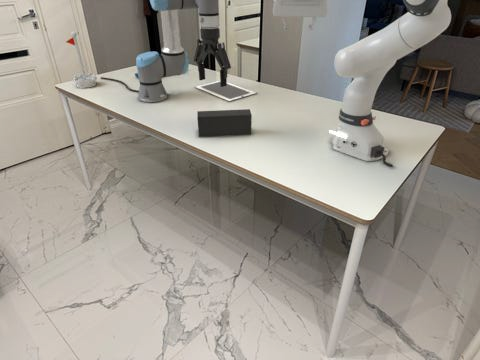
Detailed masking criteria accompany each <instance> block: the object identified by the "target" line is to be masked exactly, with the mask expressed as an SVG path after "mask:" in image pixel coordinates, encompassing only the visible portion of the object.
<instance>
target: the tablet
mask: <svg viewBox="0 0 480 360" xmlns="http://www.w3.org/2000/svg"><path fill="white" fill-rule="evenodd" d="M194 88H195V89H198V90H201V91H203V92H205V93H207V94H209V95H212V96H214V97H216V98H219V99H221V100H224V101H226V102H233V101H236V100H240V99H244V98H247V97H249V96H253V95H256V94H257V93H258V92H256V91H253V90H250V89H247V88H244V87H243V86H239V85H237V84H234V83H231V82H229V81H227V86H224V87H221V84H220V80H216V81H213V82H208V83H204V84H201V85H196V86H194Z"/></svg>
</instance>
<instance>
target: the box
mask: <svg viewBox="0 0 480 360" xmlns="http://www.w3.org/2000/svg"><path fill="white" fill-rule="evenodd" d="M196 114H197V115H196V116H197V117H196V118H197V129H198V138H209V137H229V136H250V135H251V136H252V123H253V122H252V120H253V119H252V118H253V115H252V112H251V109H250V108H247V109H246V108H245V109H219V110H199V111H198V110H197V113H196Z"/></svg>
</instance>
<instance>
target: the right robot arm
mask: <svg viewBox="0 0 480 360" xmlns="http://www.w3.org/2000/svg"><path fill="white" fill-rule="evenodd" d="M402 1H403V4H404V5H405V7H406V10H407V12H406V13H404V14H403V15H402V16H400V17H398V18H397V19H395V20H394V21H393V22H391V23H389V24H388V25H387V26H385V27H384V28H382V29H380V30H378V31H376V32H374V33H372V34H370V35H367V36H366V37H364V38H362V39H360V40H359V41H357V42H355V43H352V44H351V45H349V46H346V47H343V48H341V49H340V50H338V52H336V54H335V56H334V58H333V59H334V60H333V68H334V71H335V73H336V74H337V75H338V76H339V77H340V78H347V79H353V80H352V81H351V82H350V84H348V85H347V86H346V88H345V89H344V91H343V98H342V103H341V108H340V109H339V113H338V122H337V123H338V124H337V127H336V130H335V131H334V130H331V129H329V131H328V132H329V133H330V134H333V137H332V139H331V144H332V149H333V150H334V151H336V152H340V153H343V154H344V155H345V154H346V155H348V156H351V157H354V158H356V159H359V160H361V161H365V162H374V161H379V160H381V159H382V163H383V164H384V165H385V166H388V167H391V168H392V167H394V165H393V163H390V162H387V161H386V160H387V155H388V154H389V152H390V150H389V148H387V147H386V146H385V138H384V135H383V134H382V133H381V131H379V128H377V126H376V125H375V124H374V121H375V120H376V119H377V116H373V113H372V109H373V104H374V101H375V96H376V94H377V91H378V89H379V87H380V85H381V83H382V81H383V80H384V78H385V76H386V75H387V73H388V72H389V71H390V70H391V69H392V68H393V67H394V66H395V64H396V63H397V60H400V59H403V58H404V57H406V56H408V55H409V54H411V53H413V52H415V51H417V50H419V49H420V48H422V47H424V46H426V45H427V44H428V43H430V42H431V41H433V40H434V39H436V38H437V37H438V36H440V35H441V34H442V33H443V32H445V31H446V30H447V29H448V27H449V26H450V24H451V22H452V12H451V9H450V7H449V6H448V1H449V0H402ZM272 2H273V7H272V16H273V17H274V18H281V22H282V24H283V30H284V31H289V24H286V23H287V22H285V21H286V18H312V22H311V24H308V31H313V28H314V25H315V24H316V22H317V19H318V18H325V17H326V16H327V14H328V1H327V0H272Z"/></svg>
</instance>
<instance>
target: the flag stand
mask: <svg viewBox="0 0 480 360" xmlns="http://www.w3.org/2000/svg"><path fill="white" fill-rule="evenodd" d="M70 35H71V38H69V39H68V40H66V41H65V43H67V44H69V45H73V46H75V50H76V54H77V58H78V62H79V66H80V70H81V73H78V74H77V75H76V74H75V75H73V76H72V80H73V82H74V83H75V84H76V87H77V88H79V89H80V88H81V89H87V88H93V87H95V86H96V85H97V81H98V77H97V74H96V73H92V72H85V68H84V67H85V66H84V63H83V59H82V55H81V51H80V47H79V42H78V39H77V36H78V34H77V32H76V31H71V32H70Z"/></svg>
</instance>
